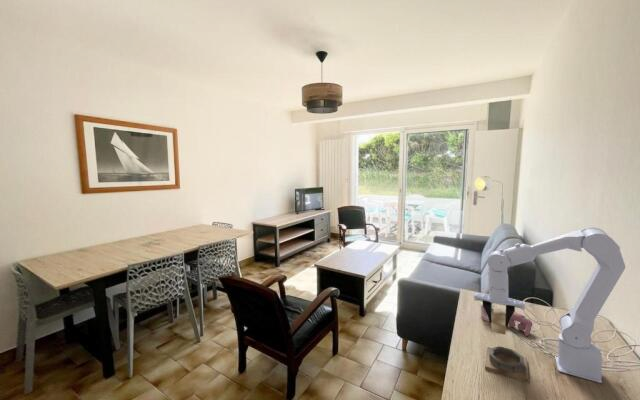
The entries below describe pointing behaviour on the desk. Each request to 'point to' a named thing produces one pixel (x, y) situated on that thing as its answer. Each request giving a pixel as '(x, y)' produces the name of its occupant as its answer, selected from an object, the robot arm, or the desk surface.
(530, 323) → the video game controller
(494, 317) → the maple plug
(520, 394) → the desk surface
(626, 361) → the desk surface
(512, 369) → the ring holder
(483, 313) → the pill bottle
